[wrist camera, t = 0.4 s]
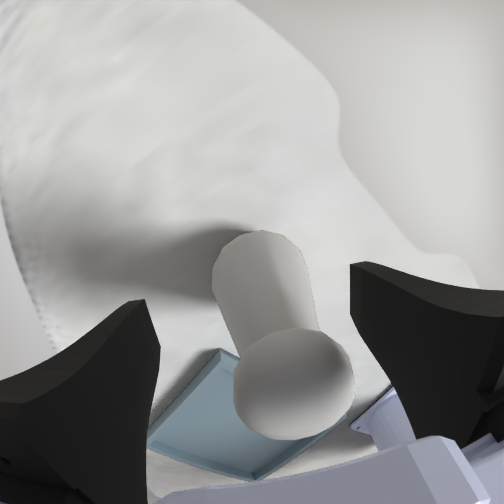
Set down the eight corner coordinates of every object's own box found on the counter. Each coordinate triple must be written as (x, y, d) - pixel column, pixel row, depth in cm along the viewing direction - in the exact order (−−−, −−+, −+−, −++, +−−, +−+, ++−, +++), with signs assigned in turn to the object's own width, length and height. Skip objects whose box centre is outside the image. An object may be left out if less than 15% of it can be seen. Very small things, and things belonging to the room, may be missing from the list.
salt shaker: (245, 316, 23) (273, 476, 10) (193, 256, 21) (170, 410, 9) (314, 269, 22) (404, 406, 10) (267, 203, 20) (342, 306, 8)
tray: (343, 405, 27) (347, 416, 26) (254, 473, 30) (256, 483, 29) (220, 348, 23) (221, 360, 22) (142, 434, 26) (140, 445, 25)
